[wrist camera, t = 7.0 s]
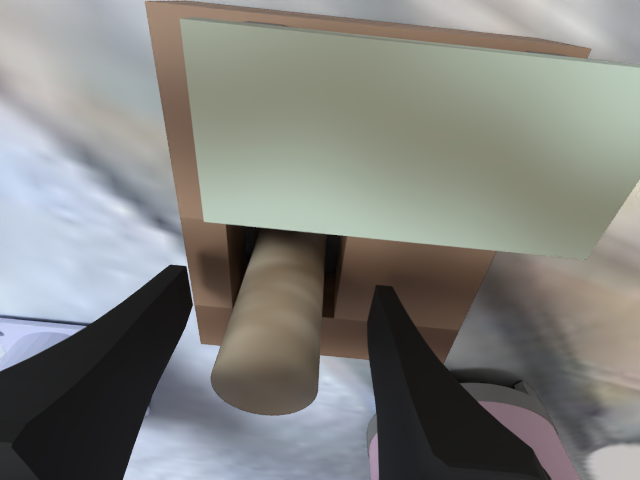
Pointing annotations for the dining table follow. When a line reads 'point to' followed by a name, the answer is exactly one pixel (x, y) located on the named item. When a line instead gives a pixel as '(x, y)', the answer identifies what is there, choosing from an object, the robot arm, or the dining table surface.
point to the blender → (509, 427)
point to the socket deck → (385, 154)
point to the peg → (275, 327)
